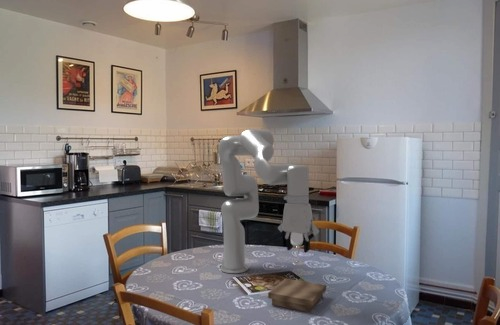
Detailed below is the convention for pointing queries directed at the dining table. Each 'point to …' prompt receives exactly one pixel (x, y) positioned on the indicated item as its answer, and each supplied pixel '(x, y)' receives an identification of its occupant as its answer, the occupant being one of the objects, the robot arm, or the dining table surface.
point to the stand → (297, 294)
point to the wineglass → (297, 244)
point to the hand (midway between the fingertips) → (298, 250)
